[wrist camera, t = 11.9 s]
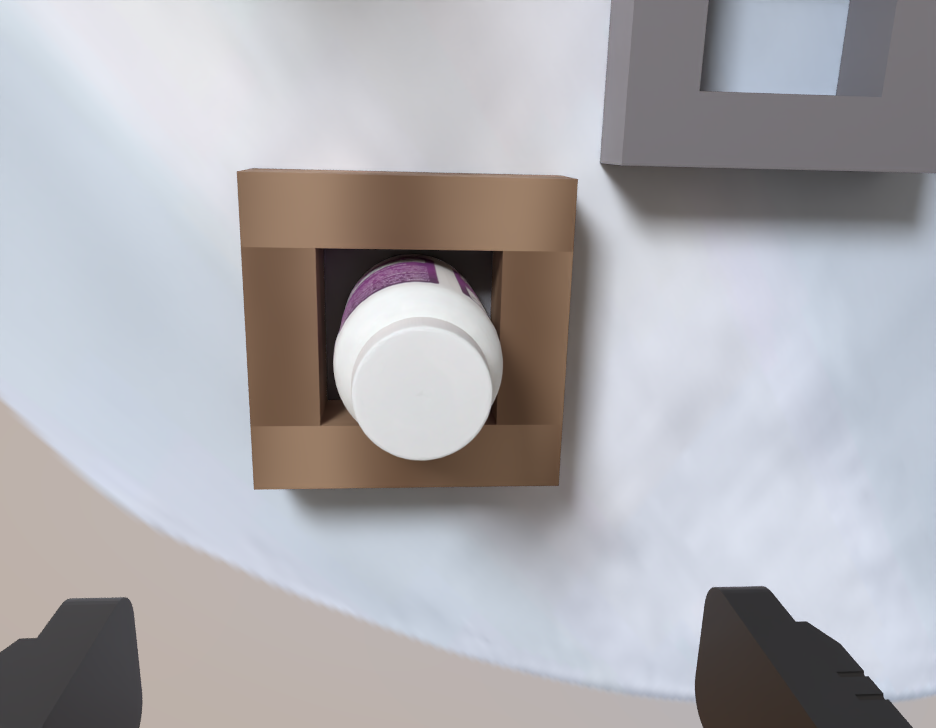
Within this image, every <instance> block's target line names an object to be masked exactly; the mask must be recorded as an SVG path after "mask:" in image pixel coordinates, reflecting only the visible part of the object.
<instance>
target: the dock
mask: <svg viewBox="0 0 936 728" xmlns="http://www.w3.org/2000/svg"><path fill="white" fill-rule="evenodd" d="M237 183H238V201H239V220H240V239H241V257H242V276H243V294H244V313H245V331H246V350H247V368H248V387H249V406H250V424H251V443H252V461H253V480H254V489H330V488H410V487H489V486H559V471H560V455H561V439H562V423H563V407H564V391H565V375H566V359H567V343H568V327H569V312H570V296H571V280H572V264H573V248H574V232H575V216H576V200H577V184H578V179H574V178H570V177H565V176H559V175H516V174H473V173H430V172H387V171H344V170H301V169H258V168H252V169H247V170H242V171H237ZM324 248H342V249H411V250H480V251H493V261H492V290H491V319H490V320H491V322H492V324H493V326H494V327H495V329H496V331H497V335H498V338H499V341H500V345H501V350H502V357H503V373H502V379H501V384H500V388H499V391H498V394H497V396H496V398H495V400H494V402H493V404H492V406H491V409H490V413H489V416H488V418H487V420H486V422H485V424H484V425H483V427H482V429H481V430H480V432H479V433H478V434H477V435H476V436H475V438H474V439H473V440H472V441H471V442H469V443H468V444H467V445H466V446H464V447H463V448H461V449H460V450H458V451H457V452H455V453H452V454H450V455H448V456H445V457H442V458H438V459H433V460H425V461H421V460H409V459H404V458H400V457H397V456H394V455H392V454H390V453H388V452H386V451H385V450H383V449H381V448H380V447H378V446H377V445H376V444H374V443H373V442H372V441H371V440H370V439H369V438H368V437H367V436H366V434H365V433H364V432H363V430H362V429H361V427H360V425H359V423H358V422H357V421H356V420H355V419H354V418H353V417H352V415H351V414H350V413H349V412H348V410H347V408H346V407H345V405H344V403H343V401H342V400H327V360H326V320H325V279H324Z"/></svg>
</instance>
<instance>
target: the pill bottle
mask: <svg viewBox="0 0 936 728" xmlns="http://www.w3.org/2000/svg"><path fill="white" fill-rule="evenodd" d="M333 367H334V376H335V382H336V386H337V389H338V392H339V395H340V397H341V399H342V401H343V403H344V405H345V407H346V408H347V410H348V412H349V413H350V414H351V415H352V417H353V418H354V419H355V420H356V421H357V422H358V423H359V425H360V427H361V429H362V430H363V432H364V433H365V434H366V436H367V437H368V438H369V439H370V440H371V441H372V442H373V443H374V444H376V445H377V446H378V447H380V448H381V449H383V450H385V451H386V452H388V453H390V454H392V455H394V456H397V457H400V458H404V459H409V460H421V461H425V460H433V459H438V458H442V457H445V456H448V455H450V454H452V453H455V452H457V451H458V450H460V449H461V448H463V447H464V446H466V445H467V444H468V443H469V442H471V441H472V440H473V439H474V438H475V436H476V435H477V434H478V433H479V432H480V430H481V429H482V427H483V425H484V424H485V422H486V420H487V418H488V416H489V413H490V409H491V406H492V404H493V402H494V400H495V398H496V396H497V394H498V391H499V388H500V384H501V379H502V373H503V357H502V350H501V345H500V341H499V338H498V335H497V331H496V329H495V327H494V326H493V324H492V322H491V320H490V319H489V317H488V315H487V313H486V311H485V310H484V308H483V306H482V304H481V302H480V300H479V298H478V297H477V295H476V294H475V292H474V291H473V289H472V287H471V286H470V285H469V283H468V282H467V280H466V279H465V278H464V277H463V276H462V275H461V274H460V273H459V272H458V271H457V270H456V269H454V268H453V267H452V266H451V265H449V264H447V263H446V262H444V261H441V260H439V259H437V258H434V257H431V256H427V255H422V254H402V255H398V256H394V257H391V258H388V259H385V260H383V261H381V262H379V263H378V264H376V265H374V266H373V267H372V268H370V269H369V270H368V271H367V272H366V273H365V274H363V276H362V277H361V278H360V279H359V280H358V282H357V283H356V284H355V286H354V287H353V289H352V291H351V293H350V296H349V298H348V301H347V304H346V307H345V311H344V314H343V317H342V321H341V326H340V330H339V333H338V336H337V338H336V341H335V348H334V356H333Z"/></svg>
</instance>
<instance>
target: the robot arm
mask: <svg viewBox="0 0 936 728" xmlns="http://www.w3.org/2000/svg"><path fill="white" fill-rule="evenodd" d="M695 696H696V704H697V709H698V713H699V717H700V720H701V723H702V726H703V728H913V727H912V726H911V725H910V724H909V723H908V722H907V720H906V719H905V718H904V717H903V716H902V715H901V713H900V712H899V711H898V710H897V709H896V708H895V707H894V705H893V704H892V703H891V702H890V701H889V700H888V699H887V700H885V699H884V697H883V693H882V691H881V690H880V689H879V688H878V687H877V686H876V685H875V683H874V682H873V681H872V680H871V679H870V678H869V676H864V671H863V669H862V668H861V667H860V666H859V665H858V664H857V663H856V661H855V660H854V659H853V658H852V657H851V656H850V654H849V653H848V652H847V651H846V650H845V649H844V648H843V646H842V645H841V644H840V643H838V642H837V641H835V640H834V639H832V638H831V637H829V636H828V635H826V634H825V633H823V632H822V631H820V630H819V629H817V628H816V627H814V626H813V625H811V624H810V623H808V622H807V621H806V622H795V620H794V619H793V618H792V617H791V615H790V614H789V613H788V612H787V610H786V609H785V608H784V607H783V606H782V604H781V603H780V602H779V601H778V599H777V598H776V597H775V596H774V594H773V593H772V592H771V591H770V590H769V589H768V588H766V587H764V586H751V587H713V588H711V589H710V590H709V591H708V594H707V596H706V600H705V606H704V613H703V621H702V629H701V637H700V645H699V653H698V660H697V668H696V676H695ZM141 714H142V688H141V678H140V669H139V660H138V649H137V640H136V630H135V621H134V612H133V607H132V604H131V602H130V600H129V599H128V598H124V597H123V598H72V599H67V600H66V601H64V602H63V603H62V605H61V606H60V607H59V609H58V610H57V611H56V613H55V614H54V616H53V617H52V618H51V620H50V621H49V622H48V624H47V625H46V626H45V628H44V629H43V631H42V632H41V633H40V635H39V636H38V638H29V639H28V638H26V639H18V640H17V641H16V642H14V643H13V644H11V645H10V646H9V647H7V648H6V649H4V650H3V651H1V652H0V728H139V727H140V721H141Z"/></svg>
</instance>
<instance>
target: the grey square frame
mask: <svg viewBox="0 0 936 728" xmlns="http://www.w3.org/2000/svg"><path fill="white" fill-rule="evenodd" d="M708 3H709V0H611V13H610V27H609V41H608V56H607V70H606V84H605V99H604V113H603V127H602V142H601V156H600V163H605V164H614V165H626V166H667V167H707V168H748V169H789V170H829V171H870V172H910V173H936V0H850V3H849V10H848V17H847V24H846V31H845V37H844V44H843V51H842V58H841V65H840V72H839V78H838V85H837V92H836V96H831V95H801V94H771V93H742V92H712V91H700V82H701V72H702V62H703V52H704V43H705V33H706V23H707V13H708Z"/></svg>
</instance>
